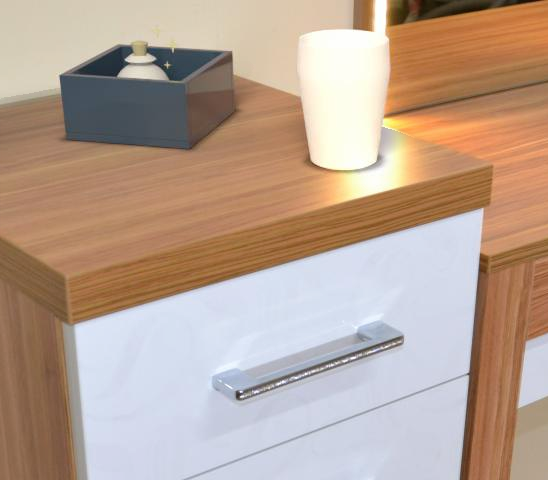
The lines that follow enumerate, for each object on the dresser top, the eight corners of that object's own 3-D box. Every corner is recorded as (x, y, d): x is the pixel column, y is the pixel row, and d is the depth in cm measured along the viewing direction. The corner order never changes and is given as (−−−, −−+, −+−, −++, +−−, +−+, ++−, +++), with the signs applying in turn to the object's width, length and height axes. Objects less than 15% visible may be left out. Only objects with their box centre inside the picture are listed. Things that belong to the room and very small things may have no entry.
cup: (357, 181, 109) (358, 54, 104) (280, 164, 113) (277, 42, 108) (405, 156, 116) (408, 36, 110) (331, 141, 120) (330, 25, 115)
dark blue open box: (189, 149, 117) (184, 83, 114) (66, 139, 120) (58, 75, 117) (235, 111, 130) (232, 50, 127) (123, 103, 133) (118, 44, 130)
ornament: (124, 109, 127) (116, 18, 123) (190, 111, 127) (185, 19, 123) (110, 125, 122) (101, 30, 118) (179, 126, 122) (173, 31, 117)
